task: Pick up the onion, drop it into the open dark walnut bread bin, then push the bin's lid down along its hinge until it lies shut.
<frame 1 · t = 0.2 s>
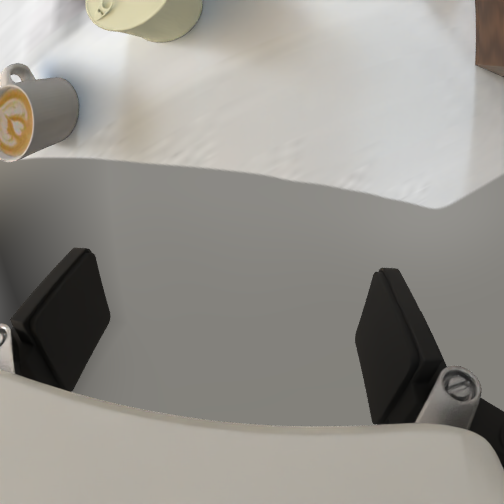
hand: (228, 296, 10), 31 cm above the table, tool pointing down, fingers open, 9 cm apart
coffee mug: (51, 99, 35), on the table
can: (166, 9, 29), on the table
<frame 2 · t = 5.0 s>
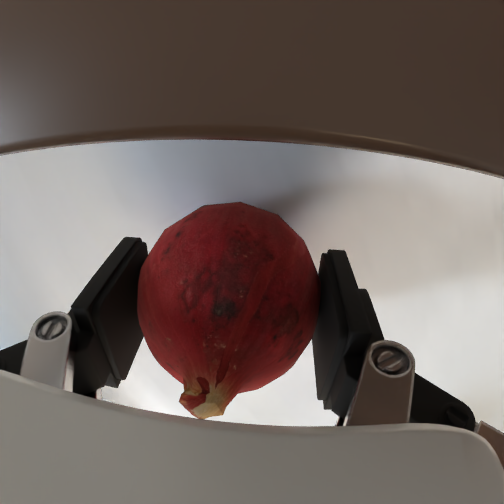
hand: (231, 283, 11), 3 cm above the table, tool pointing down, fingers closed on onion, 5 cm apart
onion: (240, 239, 14), on the table, touching gripper
when the fingers open (4 cm above the table, at t = 12.7 s): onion stays where it is, resting on bread bin.
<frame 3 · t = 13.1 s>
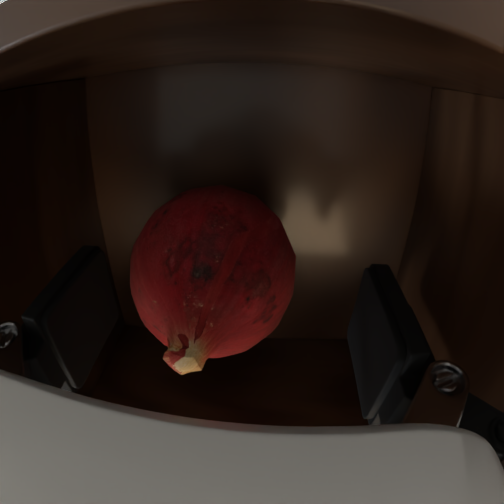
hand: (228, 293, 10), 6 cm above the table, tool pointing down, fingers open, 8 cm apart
bread bin: (252, 216, 15), on the table
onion: (227, 223, 15), point 1 cm above the table, touching bread bin
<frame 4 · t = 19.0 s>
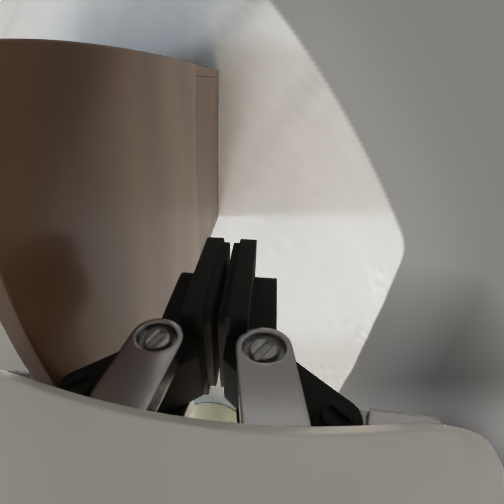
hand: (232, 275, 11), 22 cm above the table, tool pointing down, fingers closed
bread bin: (141, 146, 31), on the table
bin lid: (150, 237, 14), point 20 cm above the table, hinge at 91.6°, touching gripper
can: (214, 414, 55), on the table
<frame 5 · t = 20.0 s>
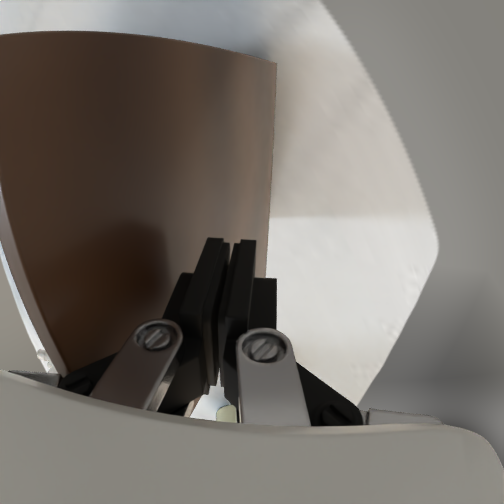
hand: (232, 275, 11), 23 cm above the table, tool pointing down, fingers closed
bin lid: (209, 235, 14), point 20 cm above the table, hinge at 75.3°, touching gripper
can: (240, 416, 55), on the table
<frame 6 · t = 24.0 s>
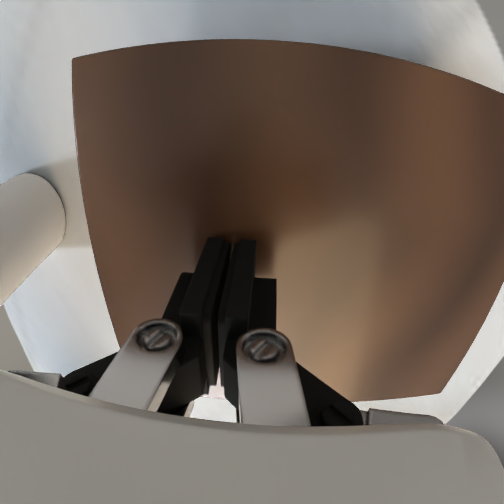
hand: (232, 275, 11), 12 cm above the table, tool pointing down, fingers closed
milk bottle: (37, 210, 24), on the table
bin lid: (323, 274, 12), point 11 cm above the table, hinge at 0.7°, touching gripper
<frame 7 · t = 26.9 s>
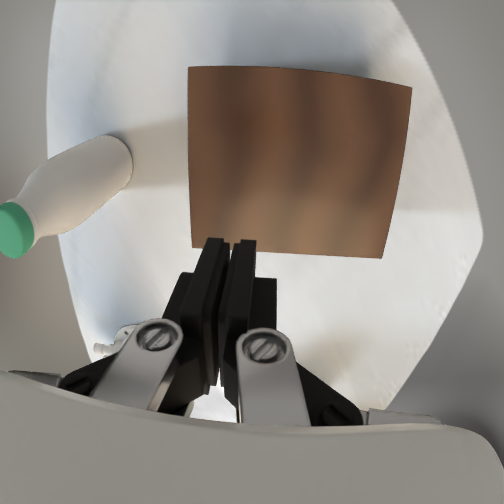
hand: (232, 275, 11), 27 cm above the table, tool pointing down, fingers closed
milk bottle: (108, 163, 37), on the table
bin lid: (297, 166, 25), point 11 cm above the table, hinge at 0.7°
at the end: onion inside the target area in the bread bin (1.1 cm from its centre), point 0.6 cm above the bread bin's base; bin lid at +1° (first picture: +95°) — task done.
